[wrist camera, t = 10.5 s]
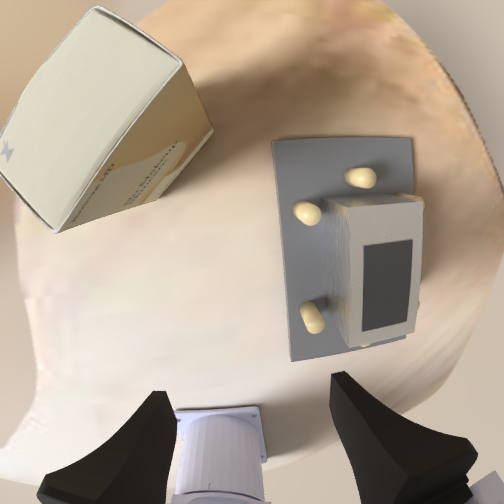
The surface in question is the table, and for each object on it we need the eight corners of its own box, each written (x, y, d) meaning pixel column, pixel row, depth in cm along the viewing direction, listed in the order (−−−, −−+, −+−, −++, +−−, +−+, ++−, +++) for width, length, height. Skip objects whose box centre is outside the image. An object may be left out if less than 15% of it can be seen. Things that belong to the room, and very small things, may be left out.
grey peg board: (401, 333, 23) (419, 353, 19) (289, 356, 22) (296, 382, 19) (404, 139, 18) (430, 135, 15) (271, 142, 18) (277, 136, 15)
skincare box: (156, 202, 19) (52, 249, 7) (112, 163, 18) (-19, 167, 6) (220, 127, 18) (191, 59, 6) (172, 89, 17) (92, -1, 5)
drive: (381, 300, 21) (414, 332, 16) (326, 310, 21) (349, 348, 16) (382, 193, 19) (423, 201, 14) (321, 198, 18) (349, 207, 14)
